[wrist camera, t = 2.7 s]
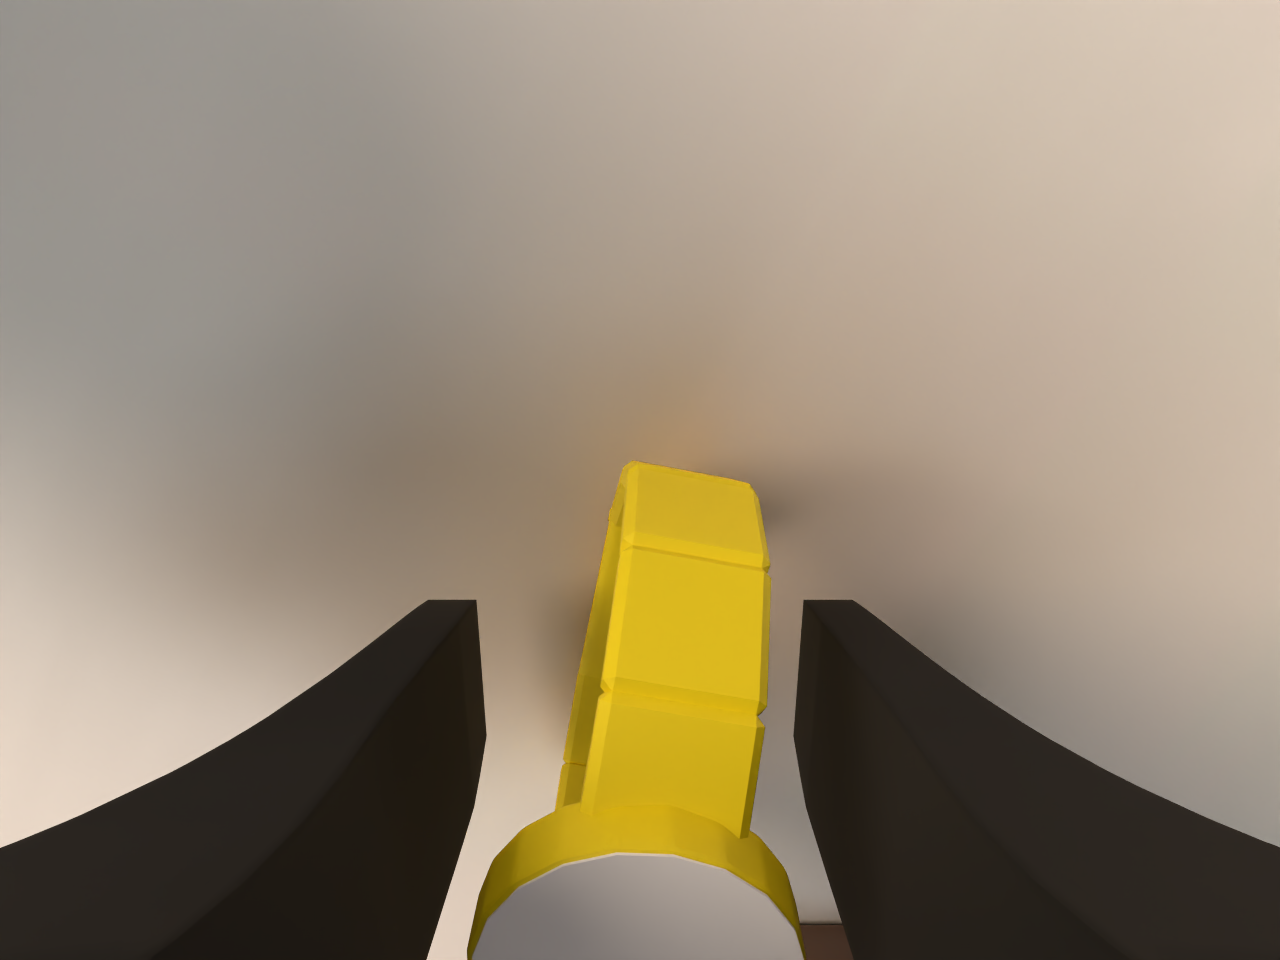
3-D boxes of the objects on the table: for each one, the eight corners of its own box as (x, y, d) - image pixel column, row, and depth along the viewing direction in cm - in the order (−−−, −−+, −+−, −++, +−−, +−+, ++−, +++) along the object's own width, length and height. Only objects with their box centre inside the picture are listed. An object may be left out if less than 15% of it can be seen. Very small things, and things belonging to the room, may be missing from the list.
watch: (580, 390, 11) (522, 615, 6) (785, 429, 12) (923, 683, 6) (514, 760, 13) (425, 1190, 8) (689, 787, 14) (724, 1227, 8)
